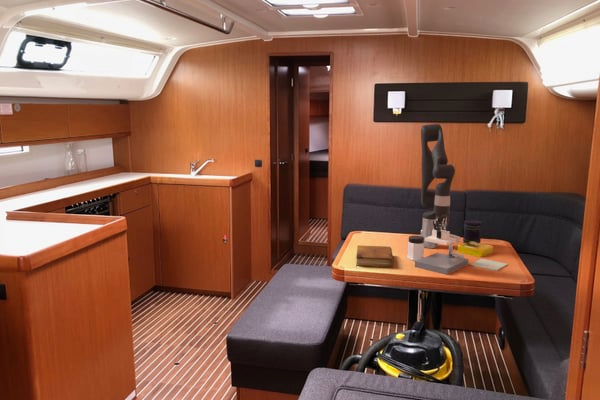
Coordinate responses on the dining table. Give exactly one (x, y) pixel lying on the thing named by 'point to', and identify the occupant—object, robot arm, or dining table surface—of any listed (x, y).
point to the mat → (488, 264)
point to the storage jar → (472, 231)
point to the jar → (415, 248)
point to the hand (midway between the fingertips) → (440, 237)
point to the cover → (443, 240)
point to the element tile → (475, 249)
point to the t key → (452, 246)
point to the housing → (441, 263)
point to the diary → (374, 256)
